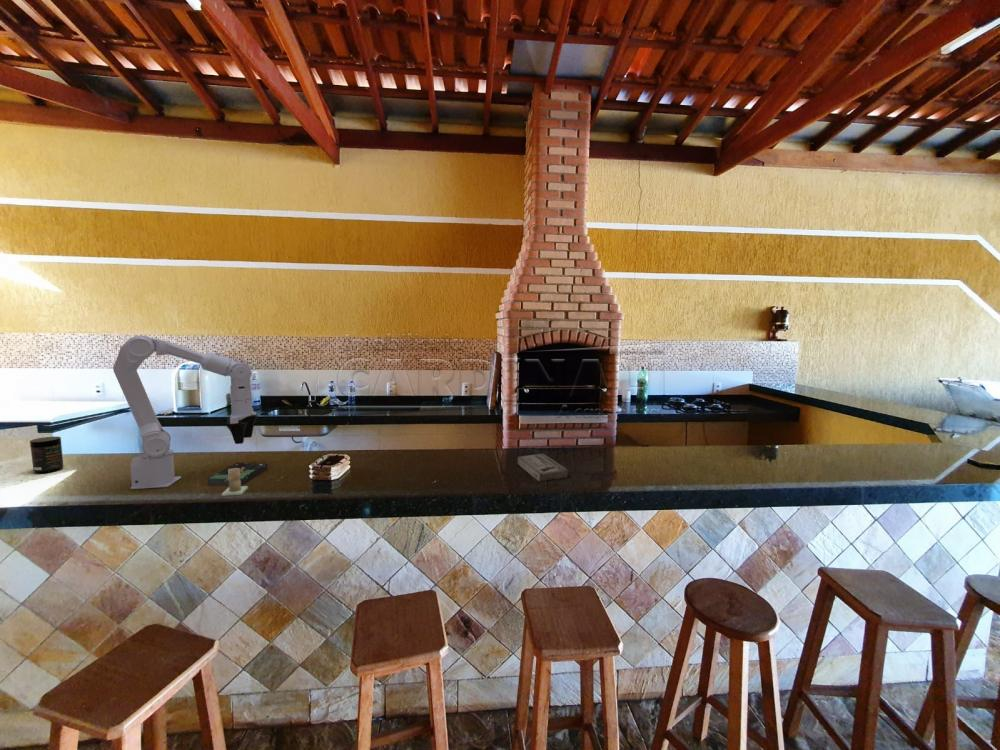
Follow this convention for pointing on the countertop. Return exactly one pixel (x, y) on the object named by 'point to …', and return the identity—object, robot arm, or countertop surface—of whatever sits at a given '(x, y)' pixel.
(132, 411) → the robot arm
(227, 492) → the pad
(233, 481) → the dowel
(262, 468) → the disk drive
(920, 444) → the countertop surface
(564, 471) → the box
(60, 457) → the supplement container
